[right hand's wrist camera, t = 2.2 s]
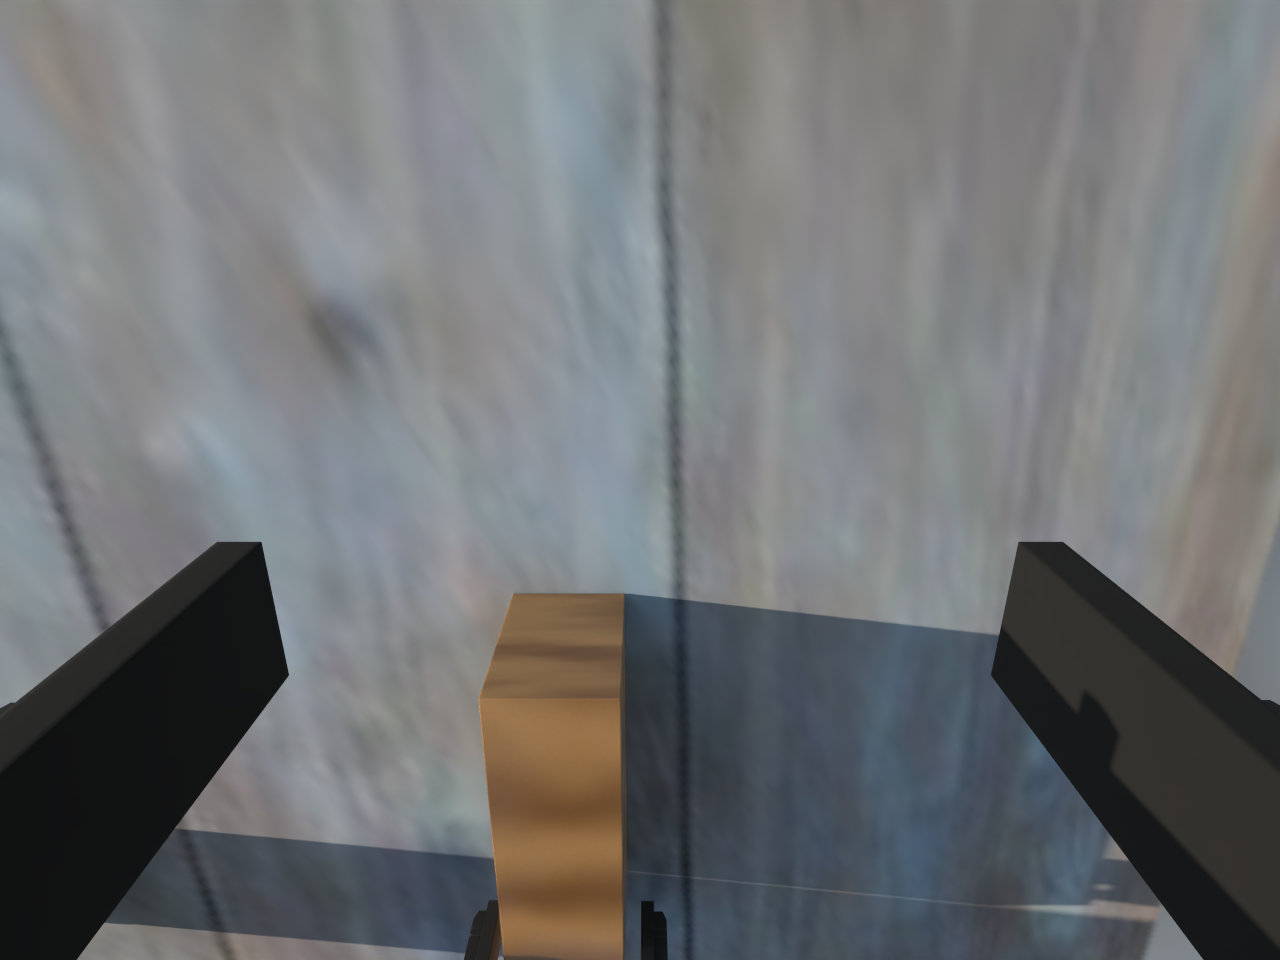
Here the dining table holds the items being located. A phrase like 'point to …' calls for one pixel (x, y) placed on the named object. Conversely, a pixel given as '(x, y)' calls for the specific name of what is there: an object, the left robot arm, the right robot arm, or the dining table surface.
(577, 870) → the box
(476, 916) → the left robot arm
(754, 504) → the dining table surface
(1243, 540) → the dining table surface
